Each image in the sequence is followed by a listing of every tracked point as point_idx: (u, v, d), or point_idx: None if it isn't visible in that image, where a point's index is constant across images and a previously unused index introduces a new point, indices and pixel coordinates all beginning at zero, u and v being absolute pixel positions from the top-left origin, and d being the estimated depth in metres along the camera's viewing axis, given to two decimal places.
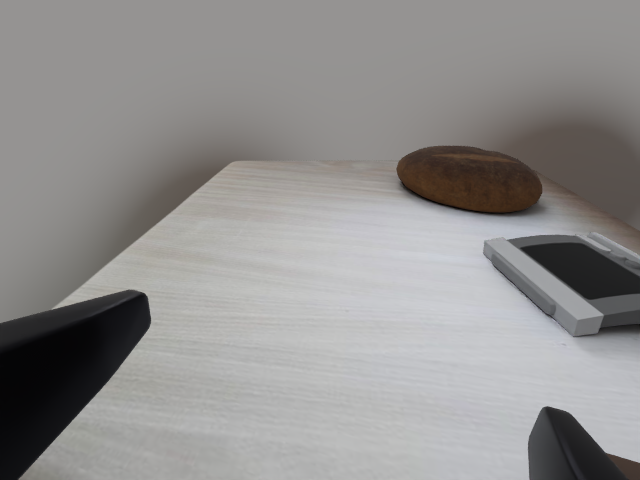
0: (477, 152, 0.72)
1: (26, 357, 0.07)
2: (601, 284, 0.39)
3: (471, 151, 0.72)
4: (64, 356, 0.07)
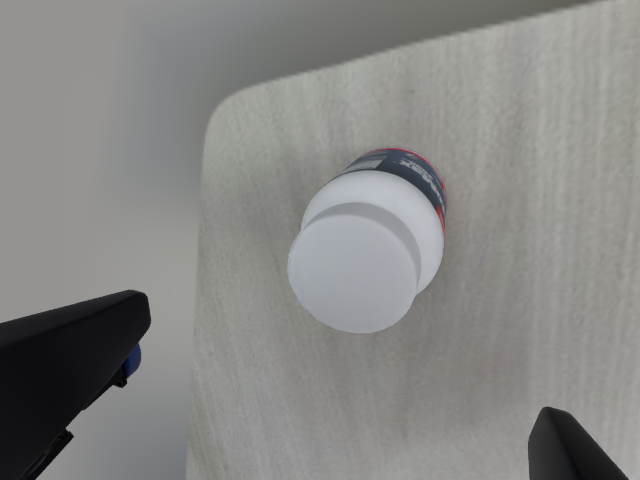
0: None
1: (26, 357, 0.07)
2: None
3: None
4: (64, 356, 0.07)
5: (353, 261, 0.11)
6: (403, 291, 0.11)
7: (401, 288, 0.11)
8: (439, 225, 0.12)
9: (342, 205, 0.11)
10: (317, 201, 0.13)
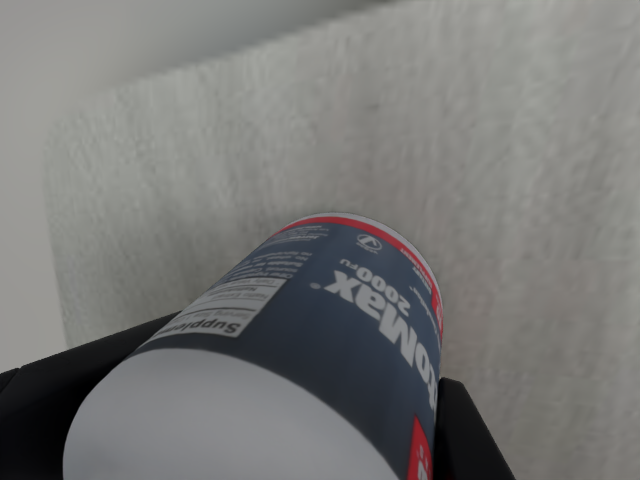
0: None
1: None
2: None
3: None
4: None
5: None
6: None
7: None
8: None
9: None
10: (74, 433, 0.05)
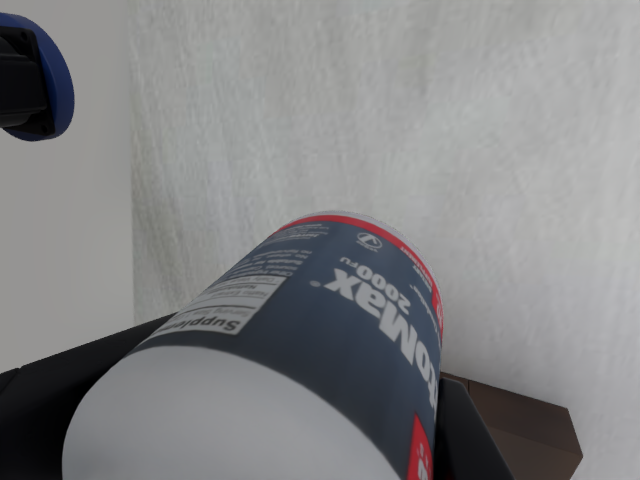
0: None
1: None
2: None
3: None
4: None
5: None
6: None
7: None
8: None
9: None
10: (73, 431, 0.05)
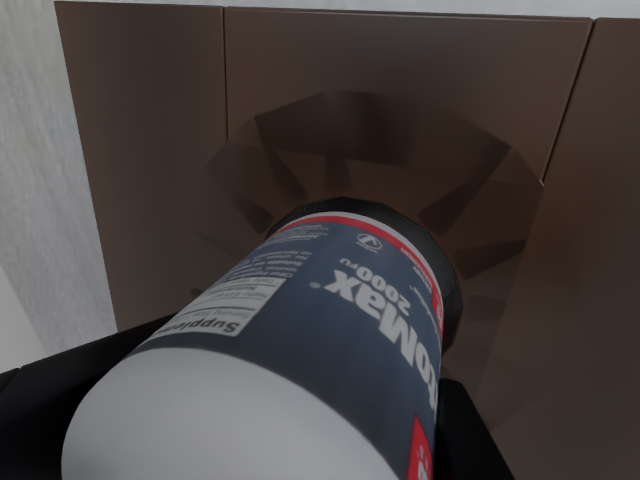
0: None
1: None
2: None
3: None
4: None
5: None
6: None
7: None
8: None
9: None
10: (73, 432, 0.05)
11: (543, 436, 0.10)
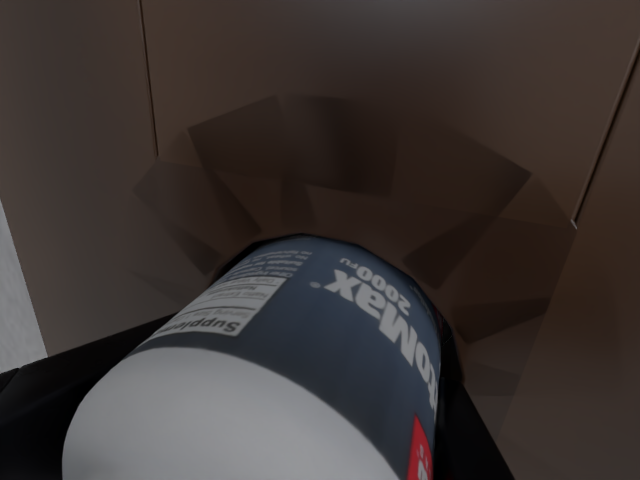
0: None
1: None
2: None
3: None
4: None
5: None
6: None
7: None
8: None
9: None
10: (73, 431, 0.05)
11: None
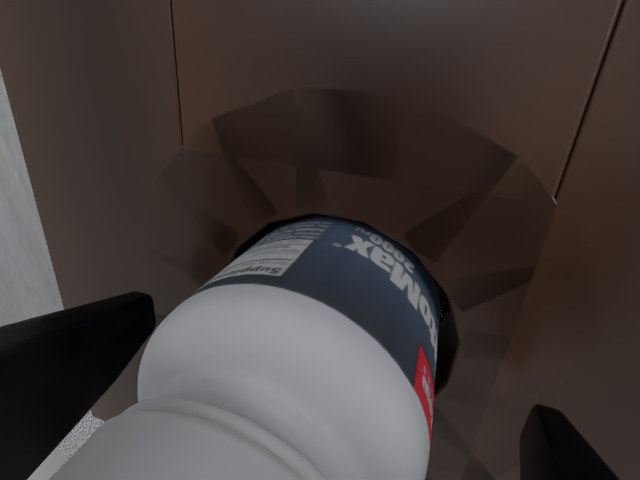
0: None
1: (32, 359, 0.07)
2: None
3: None
4: (70, 358, 0.07)
5: None
6: None
7: None
8: (418, 423, 0.05)
9: (149, 423, 0.04)
10: (153, 350, 0.06)
11: None
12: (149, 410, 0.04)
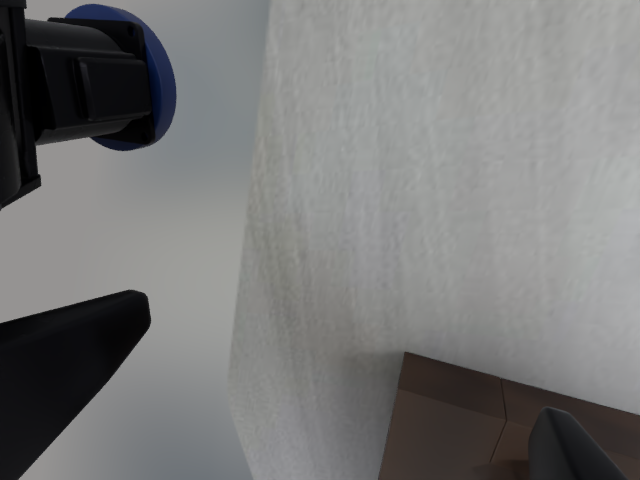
0: None
1: (26, 357, 0.07)
2: None
3: None
4: (64, 356, 0.07)
5: None
6: None
7: None
8: None
9: None
10: None
11: None
12: None
